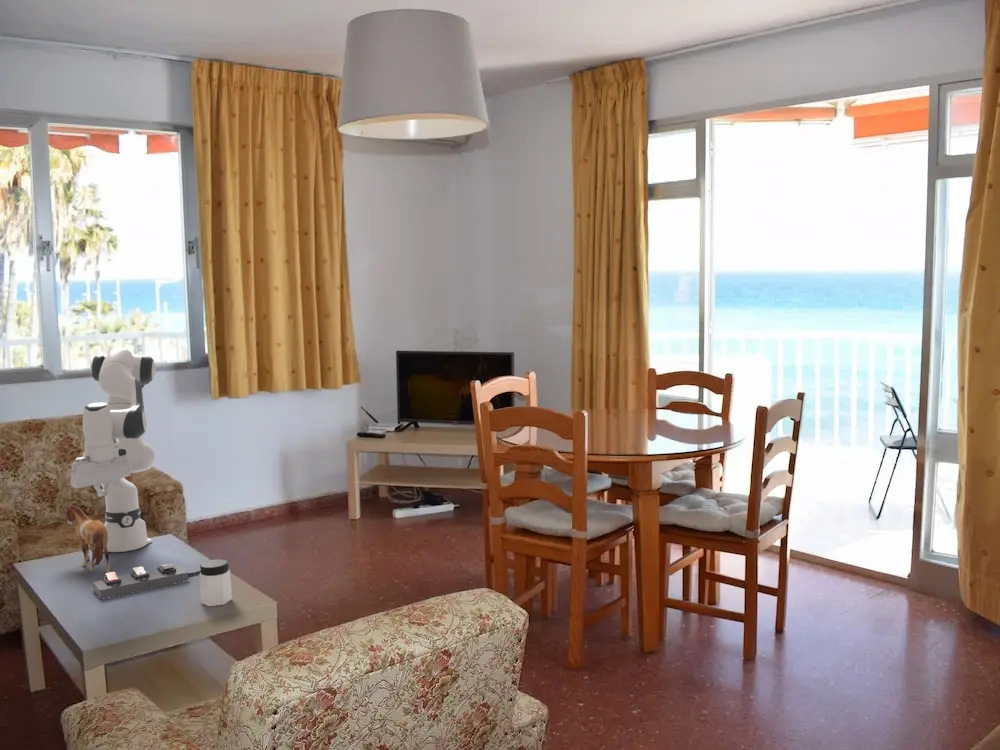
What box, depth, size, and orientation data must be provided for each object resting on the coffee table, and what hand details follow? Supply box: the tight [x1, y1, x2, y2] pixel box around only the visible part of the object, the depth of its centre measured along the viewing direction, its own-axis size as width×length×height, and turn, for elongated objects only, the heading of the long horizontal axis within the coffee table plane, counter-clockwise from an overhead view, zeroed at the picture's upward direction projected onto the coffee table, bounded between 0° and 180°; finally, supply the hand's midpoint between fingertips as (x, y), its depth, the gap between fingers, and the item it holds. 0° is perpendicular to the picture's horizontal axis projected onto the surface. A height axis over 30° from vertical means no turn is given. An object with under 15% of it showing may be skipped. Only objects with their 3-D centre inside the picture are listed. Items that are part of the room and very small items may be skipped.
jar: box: [198, 558, 233, 607], centre depth 281 cm, size 9×8×12 cm
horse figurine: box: [64, 504, 111, 573], centre depth 316 cm, size 31×8×21 cm, turn 39°
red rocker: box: [104, 571, 119, 582], centre depth 293 cm, size 5×3×2 cm, turn 35°
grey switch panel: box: [92, 564, 201, 600], centre depth 299 cm, size 10×34×4 cm, turn 125°
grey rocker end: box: [159, 563, 174, 570], centre depth 303 cm, size 5×3×2 cm, turn 35°
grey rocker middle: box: [132, 566, 146, 576], centre depth 298 cm, size 5×3×2 cm, turn 35°
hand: (103, 495), depth 298 cm, fingers closed
